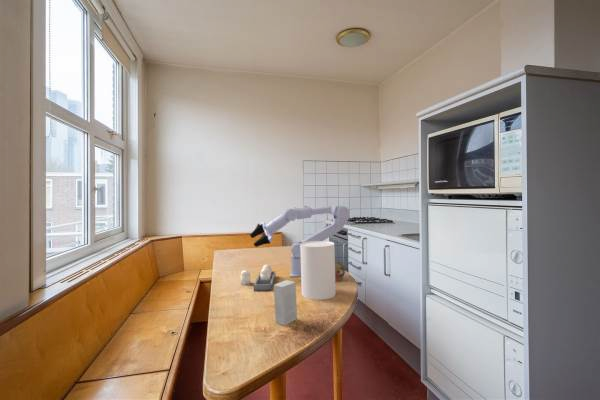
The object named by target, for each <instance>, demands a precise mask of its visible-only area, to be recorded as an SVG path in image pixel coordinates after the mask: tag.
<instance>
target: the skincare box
mask: <svg viewBox="0 0 600 400" xmlns="http://www.w3.org/2000/svg"><path fill="white" fill-rule="evenodd" d="M296 285H297V284H296V281H291V280H289V279H288V280H287V279H286V280H283V281H281V282H278V283H276V284H273V297H274V300H273V301H274V320H275V321H274V322H275V324H279V325H281V326H287V325H289V324H291V323H292V322H294V321H296V320H297V319H298V312H297V311H298V308H297V288H296V287H297V286H296Z"/></svg>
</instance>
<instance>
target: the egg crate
mask: <svg viewBox="0 0 600 400" xmlns="http://www.w3.org/2000/svg"><path fill="white" fill-rule="evenodd" d="M272 270H273V269H272V266H271V265H270V264H267V263H266V264H264V265H263V266H262V269H261V270H260V271H259V273H258V274H257V278H256V279H255V282H254V283H253V291H254V292H264V291H268V292H269V291H273V288H274V283H275V279H276V271H274V270H273V271H272Z"/></svg>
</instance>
